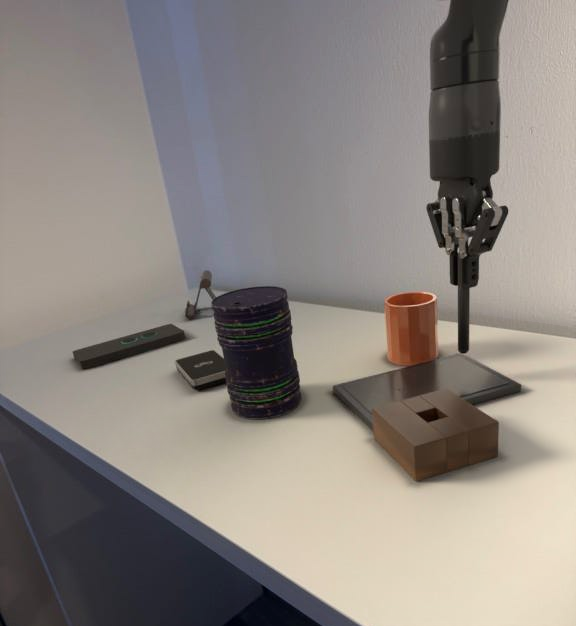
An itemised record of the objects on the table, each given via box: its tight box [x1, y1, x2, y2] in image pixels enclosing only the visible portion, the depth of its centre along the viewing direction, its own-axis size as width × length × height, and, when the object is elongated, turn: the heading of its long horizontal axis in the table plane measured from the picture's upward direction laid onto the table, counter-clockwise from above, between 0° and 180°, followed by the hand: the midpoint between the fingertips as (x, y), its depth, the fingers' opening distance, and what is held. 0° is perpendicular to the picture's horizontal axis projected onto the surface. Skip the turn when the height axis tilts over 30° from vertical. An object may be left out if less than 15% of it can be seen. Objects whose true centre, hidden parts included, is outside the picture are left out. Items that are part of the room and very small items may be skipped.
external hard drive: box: [174, 349, 227, 391], centre depth 86 cm, size 7×11×2 cm, turn 25°
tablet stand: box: [184, 270, 217, 321], centre depth 119 cm, size 9×8×8 cm
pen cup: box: [383, 291, 439, 367], centre depth 80 cm, size 7×7×9 cm
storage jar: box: [210, 285, 302, 420], centre depth 71 cm, size 10×10×15 cm
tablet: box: [332, 352, 522, 433], centre depth 70 cm, size 20×13×1 cm, turn 107°
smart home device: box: [72, 323, 186, 370], centre depth 104 cm, size 8×2×20 cm
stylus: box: [457, 248, 471, 355], centre depth 67 cm, size 1×1×14 cm
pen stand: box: [372, 388, 500, 482], centre depth 57 cm, size 9×9×4 cm
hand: (463, 285), depth 67 cm, fingers closed on stylus, 1 cm apart
